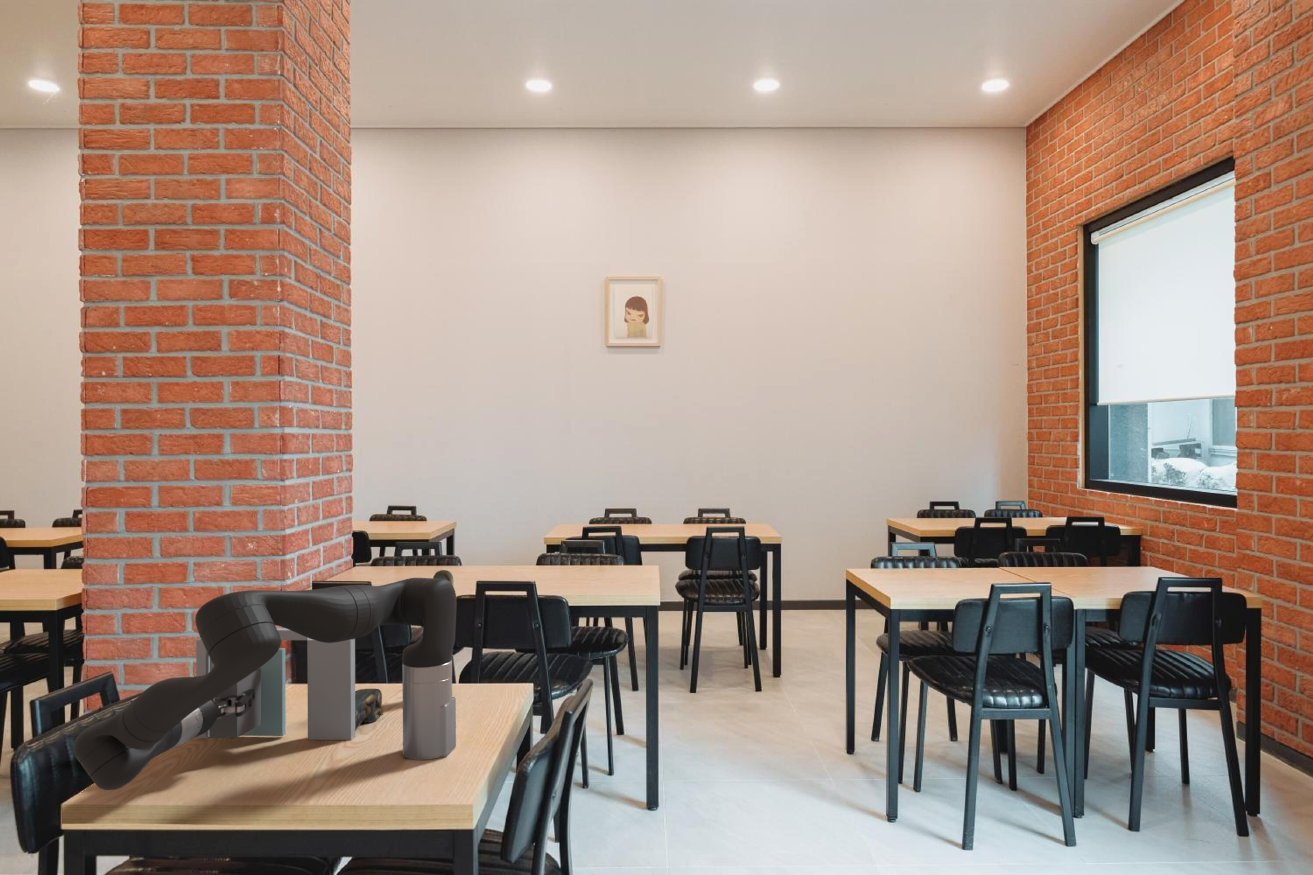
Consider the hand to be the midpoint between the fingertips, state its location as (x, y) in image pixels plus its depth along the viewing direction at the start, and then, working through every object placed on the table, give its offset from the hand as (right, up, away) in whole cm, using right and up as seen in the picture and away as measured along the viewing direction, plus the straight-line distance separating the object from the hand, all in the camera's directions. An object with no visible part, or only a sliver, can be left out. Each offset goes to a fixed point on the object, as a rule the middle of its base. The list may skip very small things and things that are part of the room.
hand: (237, 694), depth 157 cm
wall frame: (+4, -11, +7) cm, 14 cm away
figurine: (+30, -12, +34) cm, 47 cm away
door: (-2, -11, +9) cm, 14 cm away
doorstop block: (0, -7, -1) cm, 7 cm away
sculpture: (+18, -12, +15) cm, 26 cm away
